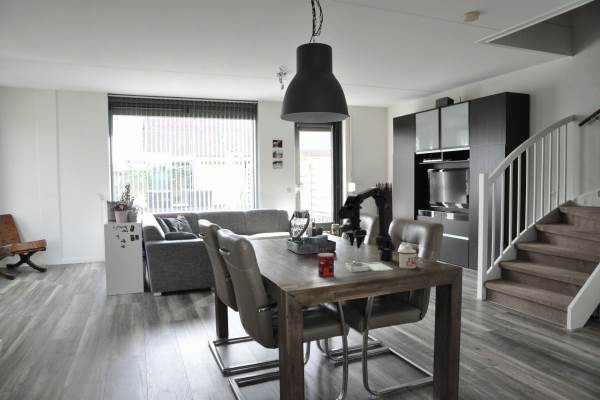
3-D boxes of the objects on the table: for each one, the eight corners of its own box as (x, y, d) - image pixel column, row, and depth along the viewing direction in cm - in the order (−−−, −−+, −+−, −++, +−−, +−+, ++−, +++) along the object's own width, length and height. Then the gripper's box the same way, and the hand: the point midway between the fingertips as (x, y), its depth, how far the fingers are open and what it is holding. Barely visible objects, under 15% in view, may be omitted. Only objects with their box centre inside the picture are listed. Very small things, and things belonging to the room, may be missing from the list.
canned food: (317, 274, 221) (317, 253, 220) (332, 273, 221) (332, 252, 221) (319, 277, 213) (318, 255, 212) (335, 277, 214) (334, 255, 213)
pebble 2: (360, 268, 228) (360, 260, 227) (363, 270, 224) (363, 263, 223) (353, 268, 227) (353, 261, 226) (356, 271, 223) (356, 264, 223)
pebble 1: (357, 265, 233) (358, 258, 231) (359, 269, 229) (361, 263, 227) (350, 265, 232) (351, 259, 230) (352, 270, 228) (353, 264, 226)
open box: (362, 267, 234) (362, 262, 234) (369, 271, 224) (369, 265, 224) (344, 269, 231) (344, 263, 231) (351, 273, 222) (351, 267, 221)
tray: (378, 264, 241) (378, 262, 241) (393, 271, 224) (393, 268, 224) (362, 265, 239) (362, 263, 239) (375, 272, 222) (375, 270, 222)
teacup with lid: (407, 270, 225) (407, 248, 224) (395, 267, 233) (395, 246, 232) (424, 267, 231) (423, 246, 230) (411, 264, 239) (411, 243, 238)
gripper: (334, 216, 235) (334, 245, 236) (346, 220, 217) (346, 251, 218) (353, 216, 238) (354, 244, 239) (367, 219, 220) (367, 249, 221)
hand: (355, 247), depth 229 cm, fingers open, 9 cm apart
